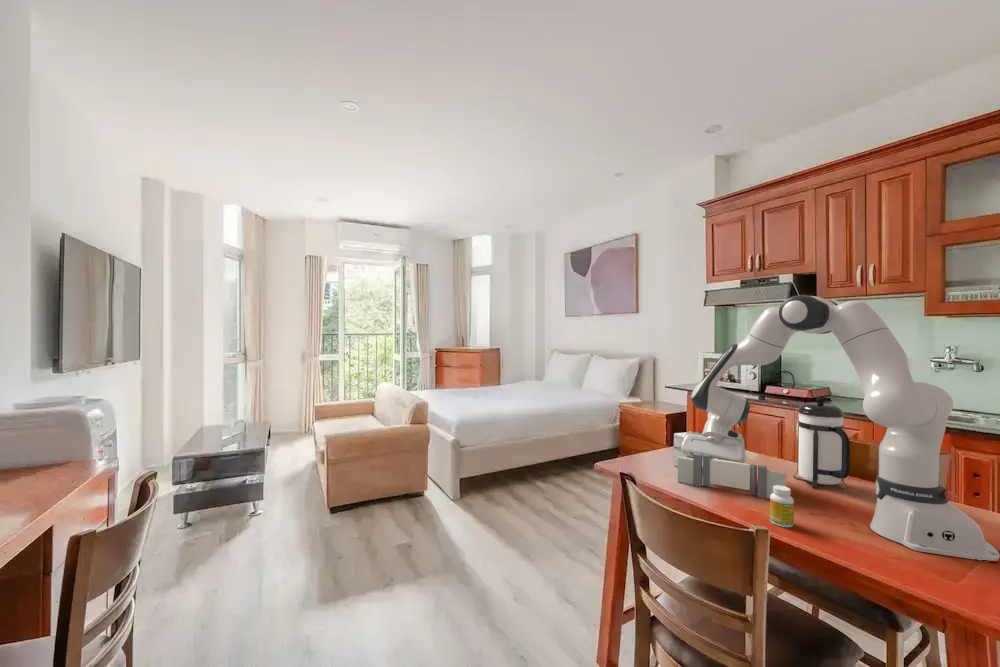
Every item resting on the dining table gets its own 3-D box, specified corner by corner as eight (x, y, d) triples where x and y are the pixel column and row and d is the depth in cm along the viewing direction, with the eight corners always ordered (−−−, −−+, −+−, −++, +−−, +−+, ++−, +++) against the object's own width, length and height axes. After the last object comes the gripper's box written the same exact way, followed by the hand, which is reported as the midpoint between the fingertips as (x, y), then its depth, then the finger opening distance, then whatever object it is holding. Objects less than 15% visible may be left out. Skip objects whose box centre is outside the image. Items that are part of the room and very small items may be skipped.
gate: (756, 492, 135) (756, 461, 135) (756, 495, 134) (756, 463, 134) (703, 483, 144) (703, 454, 143) (702, 485, 142) (703, 455, 142)
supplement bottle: (782, 529, 112) (783, 492, 112) (765, 520, 117) (765, 485, 117) (798, 526, 113) (798, 490, 113) (780, 518, 119) (780, 483, 118)
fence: (785, 499, 131) (785, 465, 131) (785, 502, 129) (786, 467, 129) (678, 480, 148) (678, 450, 148) (677, 482, 146) (677, 452, 146)
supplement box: (672, 465, 164) (672, 433, 164) (688, 463, 167) (688, 431, 166) (686, 471, 157) (686, 437, 157) (702, 469, 160) (702, 436, 159)
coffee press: (785, 482, 146) (786, 395, 146) (802, 473, 156) (802, 391, 155) (848, 498, 132) (849, 402, 132) (862, 487, 142) (863, 398, 142)
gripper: (684, 425, 156) (674, 458, 149) (746, 435, 143) (739, 471, 135) (688, 435, 160) (678, 467, 152) (749, 445, 146) (742, 481, 139)
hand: (707, 469), depth 144 cm, fingers closed
